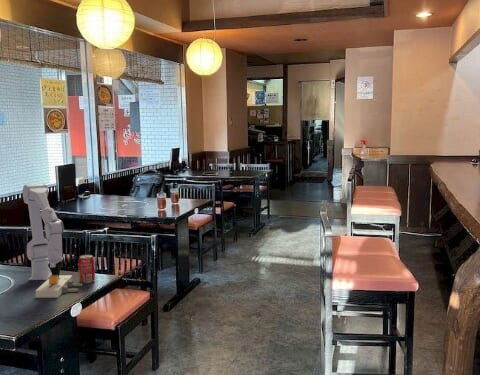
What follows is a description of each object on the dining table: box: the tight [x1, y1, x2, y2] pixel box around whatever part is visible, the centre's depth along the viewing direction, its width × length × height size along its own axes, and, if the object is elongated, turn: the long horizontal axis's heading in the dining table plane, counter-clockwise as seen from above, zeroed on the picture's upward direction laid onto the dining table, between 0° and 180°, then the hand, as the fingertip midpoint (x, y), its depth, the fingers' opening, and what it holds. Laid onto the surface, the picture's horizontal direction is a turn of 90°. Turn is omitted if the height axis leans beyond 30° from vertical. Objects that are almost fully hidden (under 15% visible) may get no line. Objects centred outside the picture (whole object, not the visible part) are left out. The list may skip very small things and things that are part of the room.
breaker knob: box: [48, 275, 59, 284], centre depth 198 cm, size 2×3×3 cm
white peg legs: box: [62, 280, 84, 294], centre depth 200 cm, size 9×6×2 cm, turn 4°
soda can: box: [77, 254, 96, 284], centre depth 210 cm, size 7×7×12 cm
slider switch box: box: [35, 274, 73, 299], centre depth 200 cm, size 20×9×3 cm, turn 4°
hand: (55, 278), depth 201 cm, fingers closed
